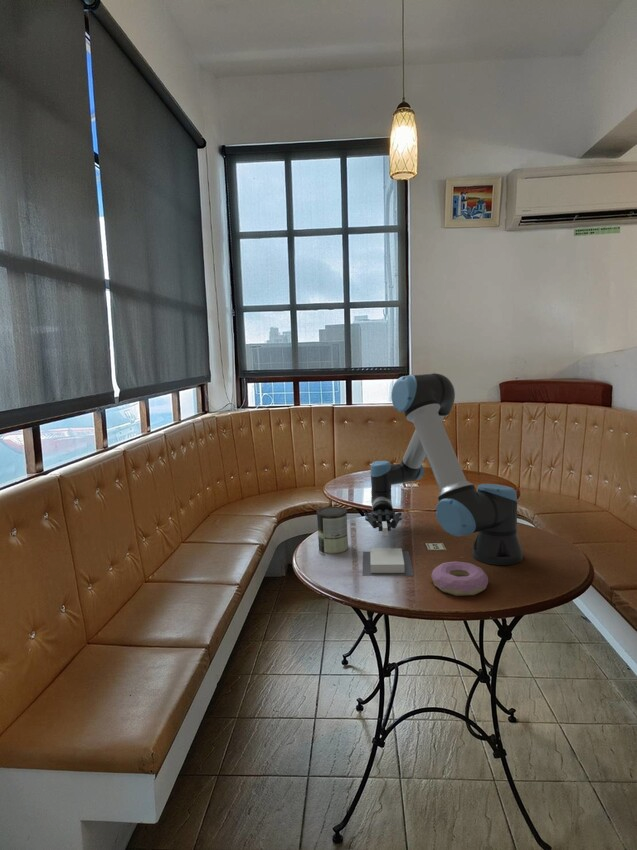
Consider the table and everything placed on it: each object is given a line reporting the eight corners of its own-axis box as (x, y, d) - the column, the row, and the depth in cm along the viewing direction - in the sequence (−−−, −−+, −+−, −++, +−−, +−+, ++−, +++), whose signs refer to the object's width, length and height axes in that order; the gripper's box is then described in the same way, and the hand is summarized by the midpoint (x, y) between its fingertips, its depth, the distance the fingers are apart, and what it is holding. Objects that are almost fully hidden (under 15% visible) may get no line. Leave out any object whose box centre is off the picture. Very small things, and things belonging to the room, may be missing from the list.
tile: (401, 548, 162) (404, 564, 150) (401, 556, 163) (404, 573, 150) (370, 548, 163) (370, 564, 151) (370, 556, 164) (370, 573, 151)
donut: (456, 570, 153) (456, 554, 152) (499, 587, 140) (499, 570, 139) (420, 585, 144) (419, 568, 143) (462, 605, 131) (462, 586, 131)
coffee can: (312, 552, 172) (310, 512, 171) (330, 543, 180) (329, 504, 178) (336, 558, 166) (334, 517, 164) (354, 548, 174) (352, 509, 172)
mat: (408, 553, 167) (408, 551, 167) (413, 577, 148) (413, 575, 148) (363, 553, 169) (363, 551, 169) (362, 578, 150) (362, 575, 150)
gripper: (401, 519, 182) (406, 543, 159) (364, 520, 183) (365, 543, 160) (400, 499, 181) (405, 520, 158) (364, 500, 182) (364, 520, 159)
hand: (385, 532), depth 159 cm, fingers closed
